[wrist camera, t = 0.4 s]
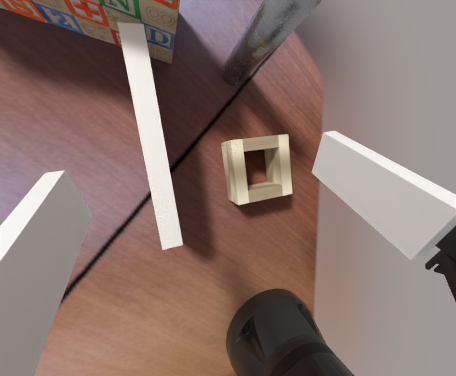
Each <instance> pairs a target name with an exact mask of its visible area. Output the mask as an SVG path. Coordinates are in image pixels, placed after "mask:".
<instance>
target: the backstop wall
mask: <svg viewBox="0 0 456 376" xmlns="http://www.w3.org/2000/svg"><path fill="white" fill-rule="evenodd" d="M117 24H118V29H119V34H120V39H121V44H122V49H123V54H124V59H125V64H126V69H127V74H128V79H129V84H130V89H131V94H132V99H133V104H134V109H135V114H136V119H137V124H138V129H139V134H140V139H141V144H142V149H143V154H144V159H145V164H146V169H147V174H148V179H149V184H150V189H151V195H152V200H153V205H154V210H155V215H156V220H157V225H158V230H159V235H160V240H161V245H162V250H164V249H168V248H172V247H176V246H180V245H183V242H182V237H181V231H180V225H179V220H178V214H177V209H176V203H175V197H174V192H173V186H172V181H171V175H170V169H169V164H168V158H167V153H166V147H165V141H164V136H163V130H162V124H161V119H160V113H159V108H158V102H157V96H156V91H155V85H154V80H153V74H152V68H151V63H150V57H149V51H148V46H147V40H146V35H145V29H144V24H136V23H120V22H117Z"/></svg>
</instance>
